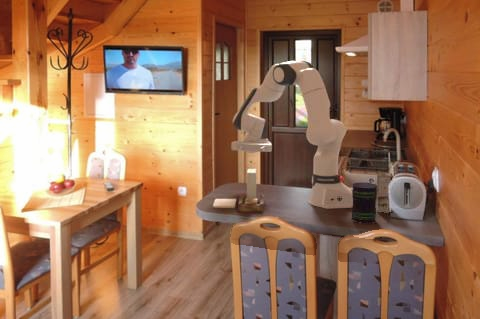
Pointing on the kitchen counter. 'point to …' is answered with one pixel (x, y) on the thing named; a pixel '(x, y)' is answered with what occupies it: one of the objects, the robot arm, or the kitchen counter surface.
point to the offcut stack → (251, 201)
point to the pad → (224, 203)
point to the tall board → (251, 183)
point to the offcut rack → (251, 205)
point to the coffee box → (383, 192)
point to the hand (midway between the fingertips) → (251, 149)
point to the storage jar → (364, 202)
